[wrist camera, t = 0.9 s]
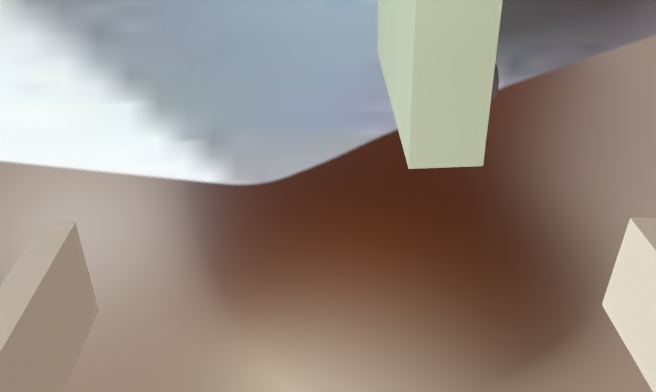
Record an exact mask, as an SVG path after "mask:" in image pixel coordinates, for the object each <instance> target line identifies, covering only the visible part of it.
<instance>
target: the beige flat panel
mask: <svg viewBox="0 0 656 392" xmlns="http://www.w3.org/2000/svg"><path fill="white" fill-rule="evenodd" d="M502 2H503V0H378V57H379V60H380V64H381V68H382V72H383V75H384V79H385V83H386V86H387V90H388V94H389V98H390V101H391V105H392V109H393V112H394V116H395V120H396V124H397V127H398V131H399V135H400V138H401V142H402V145H403V149H404V153H405V157H406V161H407V164H408V168H409V169H415V168H440V167H441V168H442V167H468V166H483V161H484V153H485V144H486V136H487V128H488V119H489V111H490V102H491V99H495V97H496V95H497V91H498V81H499V79H498V69H497V66H496V64H495V61H496V52H497V44H498V36H499V27H500V19H501V11H502Z"/></svg>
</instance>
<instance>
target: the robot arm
mask: <svg viewBox="0 0 656 392" xmlns="http://www.w3.org/2000/svg"><path fill="white" fill-rule="evenodd" d="M602 306H603V307H604V309H605V311H606V312H607V314H608V316H609V317H610V319H611V321H612V323H613V324H614V326H615V328H616V329H617V331H618V333H619V335H620V336H621V338H622V340H623V341H624V343H625V345H626V347H627V348H628V350H629V352H630V353H631V355H632V357H633V358H634V360H635V362H636V364H637V365H638V367H639V369H640V370H641V372H642V374H643V376H644V377H645V379H646V380H647V382H648V384H649V386H650V387H651V389H652V391H653V392H656V218H630V220H629V223H628V226H627V230H626V233H625V236H624V239H623V242H622V245H621V248H620V251H619V254H618V257H617V260H616V263H615V266H614V269H613V272H612V275H611V279H610V281H609V285H608V288H607V291H606V294H605V297H604V300H603V303H602ZM97 312H98V306H97V302H96V299H95V295H94V291H93V287H92V284H91V280H90V276H89V272H88V268H87V265H86V261H85V257H84V254H83V250H82V246H81V242H80V238H79V234H78V231H77V227H76V223H75V222H64V223H63V222H53V223H42V224H41V226H40V227H39V229H38V230H37V231H36V233H35V234H34V236H33V238H32V239H31V241H30V242H29V243H28V245H27V247H26V248H25V250H24V251H23V253H22V254H21V256H20V257H19V259H18V260H17V262H16V263H15V265H14V266H13V268H12V269H11V271H10V272H9V274H8V275H7V277H6V278H5V280H4V282H3V283H2V285H1V286H0V392H63V391H64V389H65V387H66V384H67V382H68V380H69V377H70V375H71V373H72V370H73V368H74V365H75V363H76V361H77V359H78V357H79V354H80V352H81V350H82V347H83V345H84V342H85V340H86V338H87V336H88V333H89V331H90V329H91V326H92V324H93V322H94V319H95V317H96V315H97Z"/></svg>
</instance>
